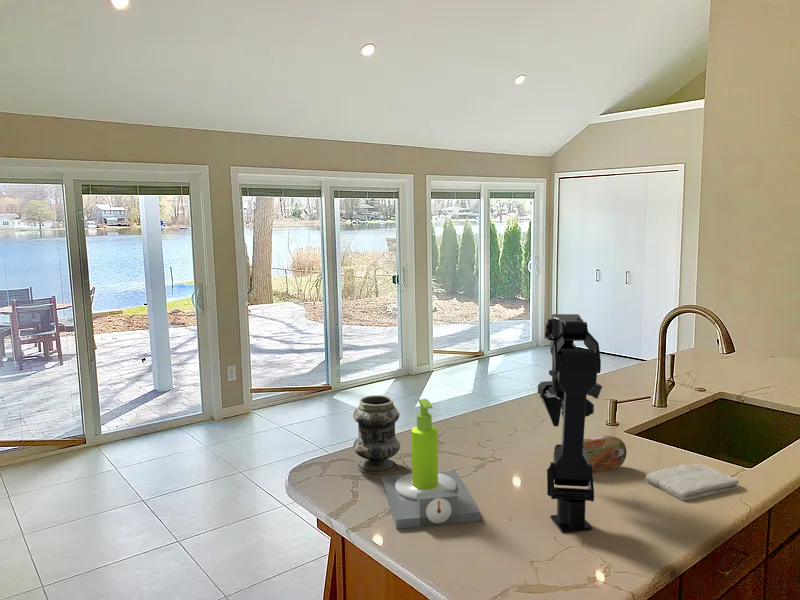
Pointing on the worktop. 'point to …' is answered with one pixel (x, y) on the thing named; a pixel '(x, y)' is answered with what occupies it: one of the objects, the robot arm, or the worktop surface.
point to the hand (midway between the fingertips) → (563, 432)
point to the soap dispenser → (424, 450)
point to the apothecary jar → (376, 434)
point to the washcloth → (691, 481)
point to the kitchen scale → (429, 501)
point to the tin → (605, 453)
